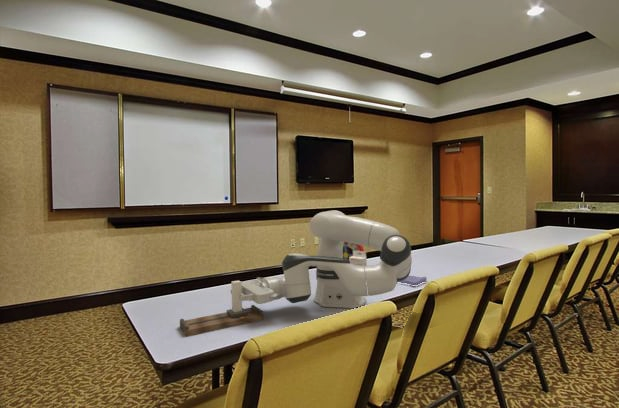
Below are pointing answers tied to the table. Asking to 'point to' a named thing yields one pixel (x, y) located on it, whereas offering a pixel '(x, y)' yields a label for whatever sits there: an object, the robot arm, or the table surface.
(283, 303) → the table surface
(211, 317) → the fader track
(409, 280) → the computer part
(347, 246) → the toy clock
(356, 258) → the ink cartridge box
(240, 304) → the fader tab
